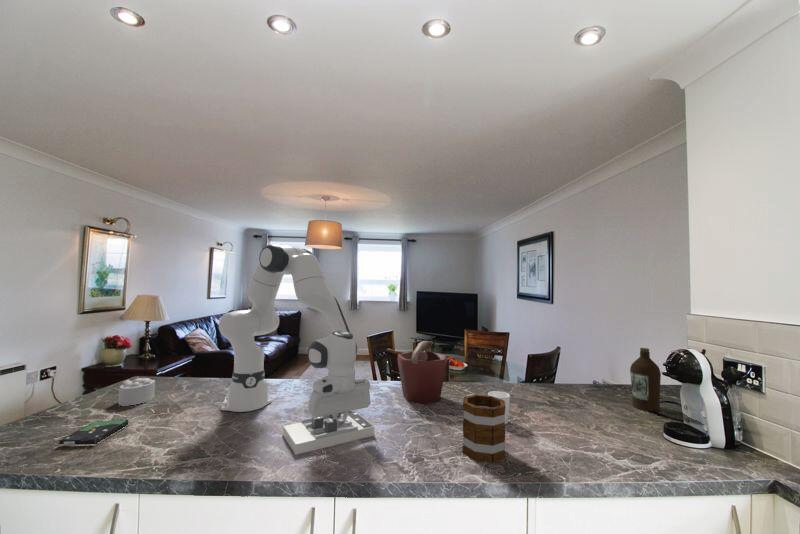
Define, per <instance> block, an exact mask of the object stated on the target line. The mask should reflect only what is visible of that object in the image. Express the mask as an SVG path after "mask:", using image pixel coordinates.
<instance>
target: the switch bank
mask: <svg viewBox="0 0 800 534" xmlns="http://www.w3.org/2000/svg"><path fill="white" fill-rule="evenodd" d="M342 416H343V414H341V417H339V418H338V419H341V418H342ZM323 417H324V425H323V427H322V428H317V429H313V428H312V427H311V425H312V416H311V417H306V418H301V422H296V423H291V424H285V425H283V427H282V428H283V429H282V435H283V438H284V439H285V440H286V442H287V444H288V446H289V447H290V449H291V450H292V451H293V454H294V455H295V456H297V455H301V454H305V453H309V452H314V451H317V450H320V449H325V448H329V447H334V446H337V445H340V444H346V443H349V442H353V441H354V442H355V441H357V440H361V439H364V438H369V437H374V436H375V426H374V425H373V424H372V423H371V422H370V421H368V420H367V419H366V418H364V417H363V416H362V415H361V414H359V413H358V412H356V411H350V412H349V415H348V417H347V419H346V420H345V425H344V426H339V427H337V431H334V432H329V433H326V432H325V431H324V430H325V420H327V419H331V418H330V415H326V416H323Z"/></svg>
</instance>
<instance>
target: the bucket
mask: <svg viewBox="0 0 800 534" xmlns="http://www.w3.org/2000/svg"><path fill="white" fill-rule="evenodd" d="M433 344H434V341H432V340H431V341H430V340H422V341H420V342H418V344H417V346H416V347H415V349H414V350H413V351H407V352H402V353H400V354H397V366H398V371H399V376H400V377H399V378H400V384H401V390H402V395H403V398H404V397H405V398H404V399H405V400H406V401H407V403H411V402H412V403H411V404H417V403H418V405H424V406H425V405H431V404H436V403H437V402H438V403H440V401H441V397H442V396H441V395H442V391H443V390H442V389H443V386H444V380H445V379H444V378H445V374H446V369H447V364H448V363H447V362H448V355H447V354H443V353H439V352H434V351H432V350H431V347H432V345H433ZM422 350H423V351H422Z"/></svg>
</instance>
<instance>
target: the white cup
mask: <svg viewBox="0 0 800 534" xmlns="http://www.w3.org/2000/svg"><path fill="white" fill-rule="evenodd" d="M487 396H493V397H496V398H499V399H501V400H504V401H505V406H506V408H505V425H508V424H509V415H510V401H511V400H510V399H511V396H510V393H507V392H504V391H500V390H499V391H498V390H492V391H491V390H490V391H489V392H487Z"/></svg>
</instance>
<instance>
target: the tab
mask: <svg viewBox="0 0 800 534" xmlns="http://www.w3.org/2000/svg"><path fill="white" fill-rule="evenodd" d="M324 431H325V432H326V433H329V432H334V431H337V421H336V420H335V419H334V418H332V419H327V420H325V430H324Z"/></svg>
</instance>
